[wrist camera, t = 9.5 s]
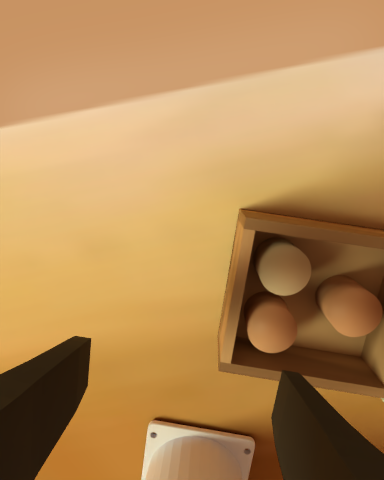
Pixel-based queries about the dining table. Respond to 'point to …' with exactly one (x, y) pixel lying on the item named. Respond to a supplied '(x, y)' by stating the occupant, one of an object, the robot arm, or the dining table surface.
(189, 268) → the dining table surface
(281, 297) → the crate
